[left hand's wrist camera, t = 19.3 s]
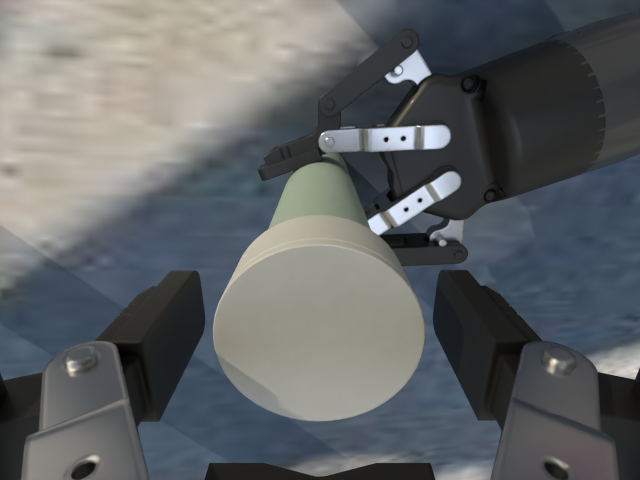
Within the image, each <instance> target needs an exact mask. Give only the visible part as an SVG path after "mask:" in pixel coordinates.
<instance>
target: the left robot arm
mask: <svg viewBox="0 0 640 480" xmlns="http://www.w3.org/2000/svg"><path fill="white" fill-rule="evenodd" d="M433 325H434V330H435V333H436V336H437V338H438V340H439V342H440V344H441V346H442V348H443V350H444V352H445V354H446V356H447V358H448V360H449V362H450V364H451V366H452V368H453V370H454V372H455V374H456V376H457V378H458V380H459V382H460V384H461V386H462V388H463V391H464V393H465V395H466V397H467V399H468V401H469V403H470V405H471V407H472V409H473V411H474V413H475V415H476V417H477V419H478V420H496V421H497V422H498V424H499V426H500V428H501V430H502V433H501V437H500V441H499V445H498V449H497V454H496V458H495V462H494V466H493V470H492V475H491V479H490V480H640V369H639V371H638V374H637V376H636V379H635V380H634V379H629V378H624V377H619V376H614V375H609V374H604V373H599V372H597V369H596V367H595V366H594V365H593V363H592V362H591V361H590V360H589V359H588V358H586V357H585V356H584V355H582V354H581V353H579V352H577V351H575V350H573V349H571V348H569V347H567V346H564V345H561V344H558V343H554V342H548V341H542V340H541V338H540V337H539V336H538V335H537V334H536V333H535V332H534V331H533V330H532V329H531V328H530V327H529V325H528V324H527V323H526V322H525V321H524V320H523V319H522V318H521V317H520V316H519V315H517V312H516V311H515V310H514V309H513V308H512V307H509V304H508V303H507V302H506V301H505V299H504V298H503V297H502V296H501V295H500V294H498V293H497V292H495V291H493V290H491V289H490V288H488V287H486V286H480V285H479V283H478V282H477V281H476V280H475V279H474V278H473V276H472V275H471V274H470V273H469V272H468V271H467V270H441V271H440V273H439V276H438V282H437V289H436V297H435V304H434V312H433ZM204 326H205V311H204V304H203V297H202V289H201V282H200V276H199V273H198V272H197V271H170V272H169V273H168V274H167V276H166V277H165V278H164V279H163V280H162V281H161V282H160V284H159V285H158V286H152V287H151V288H149V289H147V290H146V291H144V292H142V293H140V294H139V295H137V296H136V297H135V299H134V300H133V301H132V302H131V303H130V304H129V305H128V307H126V308H125V309H124V310H123V311H122V312H121V314H120V316H118V317H117V318H116V319H115V320H114V321H113V322H112V323H111V324H110V325H109V326H108V328H107V329H106V330H105V331H104V332H103V333H102V334H101V335H100V336H99V337H98V338H97V339H96V340H95V341H92V342H86V343H82V344H79V345H76V346H73V347H71V348H69V349H67V350H65V351H63V352H61V353H59V354H58V355H56V356H55V357H54V358H52V359H51V360H50V361H49V362H48V363H47V365H46V366H45V367H44V369H43V372H42V373H38V374H33V375H28V376H23V377H18V378H13V379H9V380H4V381H3V379H2V376H1V374H0V480H150V479H149V475H148V470H147V466H146V462H145V458H144V454H143V449H142V445H141V441H140V437H139V433H138V429H137V427H138V425H139V424H140V422H159V421H160V419H161V417H162V415H163V413H164V411H165V409H166V407H167V405H168V403H169V401H170V399H171V397H172V395H173V393H174V391H175V389H176V387H177V385H178V383H179V381H180V379H181V377H182V375H183V373H184V371H185V369H186V367H187V365H188V363H189V361H190V359H191V357H192V355H193V353H194V351H195V349H196V347H197V345H198V343H199V341H200V339H201V337H202V334H203V331H204ZM205 480H435V477H434V474H433V470H432V467H431V464H430V463H375V464H371V465H367V466H363V467H359V468H356V469H352V470H348V471H344V472H340V473H337V474H333V475H329V476H325V477H315V476H311V475H307V474H303V473H300V472H296V471H292V470H288V469H284V468H281V467H277V466H273V465H269V464H265V463H210V464H209V467H208V470H207V474H206V477H205Z"/></svg>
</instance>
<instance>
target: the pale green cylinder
mask: <svg viewBox="0 0 640 480" xmlns="http://www.w3.org/2000/svg"><path fill="white" fill-rule="evenodd" d="M309 215H328V216H336V217H341V218H345V219H349V220H351V221H354V222H357V223H359V224H361V225H363V226H365V227H367V228H369V229H370V230H371V228H370V226H369V223H368V220H367V218H366V215H365V213H364V210H363V208H362V205H361V202H360V200H359V197H358V195H357V192H356V189H355V187H354V184H353V182H352V179H351V177H350V174H349V171H348V169H347V166H346V164H345V162H344V160H343V158H342V157H341V156H340V154H339V153H327V154H324V155H322V160H320V161H317V162H315V163H312V164H309V165H306V166H304V167H301V168H298V169H296V170H293V171H291V174H290V176H289V179H288V181H287V184H286V186H285V189H284V191H283V194H282V196H281V199H280V201H279V204H278V206H277V209H276V211H275V214H274V216H273V219H272V221H271V224H270V226H269V229H270V228H272V227H274V226H275V225H277V224H280V223H282V222H284V221H287V220H290V219H294V218H297V217H303V216H309ZM269 229H268V230H269Z"/></svg>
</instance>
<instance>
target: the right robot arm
mask: <svg viewBox="0 0 640 480" xmlns="http://www.w3.org/2000/svg"><path fill="white" fill-rule="evenodd" d="M418 46H419V37H418V34H417V33H416V32H415V31H414V30H412V29H404V30H402V31H401V32H399V33H398V34H397V35H396V36H394V37H393V38H392V39H391V40H389V41H388V42H387V43H386V44H385V45H383V46H382V47H381V48H380V49H378V50H377V51H376V52H375V53H374V54H372V55H371V56H370V57H369V58H367V59H366V60H365V61H364V62H362V63H361V64H360V65H359V66H358V67H356V68H355V69H354V70H353V71H351V72H350V73H349V74H348V75H347V76H345V77H344V78H343V79H342V80H340V81H339V82H338V83H337V84H336V85H334V86H333V87H332V88H331V89H329V90H328V91H327V92H326V93H324V94H323V95H322V96H321V98H320V99H319V103H318V126H317V129H316V130H315V131H314V132H313V133H311V134H309V135H307V136H304V137H301V138H299V139H296V140H293V141H291V142H288V143H285V144H283V145H280V146H277V147H275V148H273V149H272V150H271V151H270V152H269V153H268V154H267V155H266V156H265V157H264V160H265V164H263V165H261V166H260V167H259V168H258V169H257V170H258V172H259V174H260V177H261V179H262V181H265V180H268V179H271V178H274V177H276V176H279V175H282V174H285V173H287V172H290V171H293V170H296V169H298V168H301V167H304V166H306V165H309V164H312V163H315V162H317V161H320V160H322V155H324V154H327V153H342V152H379V153H380V156H381V158H382V159H383V161H384V163H385V164H386V166H387V170H388V183H389V187H390V188H389V189H387V190H386V191H384V192H383V193H381V194H380V195H379V196H377V197H376V199H375V200H374V201H373V202H372V203H371V204H369V205H368V206H366V207H365V208H364V209H363V210H364V213H365V215H366V218H367V220H368V223H369V226H370V228H371V230H372V231H373V232H374V233H376V234H377V235H379V236H380V237H381V238H382V239H383V240H384V241H385V242H386V243H387V244H388V245H389V247H390V248H391V249H392V250H393V251H394V253H395V255H396V257H397V258H398V260H399V262H400V264H401V266H415V265H438V264H459V263H462V262H463V261H465V260H466V258H467V256H468V251H467V249H466V248H465V247H464V246H463V244H462V240H463V230H464V221H465V219H467V218H469V217H470V216H472V215H473V214H474V213H475V212H476V211H477V210H478V209H479V208H481V207H482V206H484V205H486V204H488V203H491V202H495V201H500V200H504V199H508V198H511V197H514V196H517V195H520V194H523V193H526V192H529V191H532V190H535V189H538V188H541V187H544V186H547V185H550V184H553V183H556V182H559V181H562V180H565V179H568V178H571V177H574V176H577V175H580V174H583V173H586V172H589V171H592V170H595V169H598V168H601V167H604V166H607V165H610V164H613V163H616V162H619V161H622V160H625V159H628V158H631V157H633V156H635V155H638V154H640V11H637V12H634V13H630V14H626V15H622V16H618V17H613V18H609V19H605V20H601V21H598V22H595V23H592V24H589V25H586V26H584V27H581V28H578V29H576V30H573V31H568V32H562V33H559V34H557V35H555V36H553V37H551V38H549V39H548V40H547V41H544V42H541V43H539V44H536V45H533V46H531V47H528V48H525V49H523V50H520V51H518V52H515V53H512V54H510V55H507V56H504V57H502V58H499V59H497V60H494V61H491V62H489V63H486V64H483V65H481V66H478V67H475V68H473V69H470V70H467V71H465V72H462V73H459V74H456V75H444V74H432V73H431V72H430V70H429V68H428V66H427V65H426V63H425V61H424V60H423V58H422V56H421V55H420V53H419V51H418V49H417V48H418ZM382 78H383V80H384V81H385V82H386V83H388V84H397V83H400V82H402V81H404V80H406V81H409V82H410V83H412V85H413V86H412V88H411V89H410V91H409V92H408V94H407V95H406V96H405V98H404V99H403V101H402V102H401V103H400V105H399V106H398V108H397V109H396V110H395V112H394V113H393V115H392V116H391V117H390V119H389V120H388V122H387V123H378V124H362V125H355V126H340V121H341V110H343V109H344V108H345V107H346V106H348V105H349V104H350V103H351V102H353V101H354V100H355V99H356V98H358V97H359V96H360V95H362V94H363V93H364V92H365V91H367V90H368V89H369V88H370V87H372V86H373V85H374V84H375V83H377V82H378V81H379V80H380V79H382ZM406 207H407V208H406ZM405 208H406V209H405ZM421 211H422V212H425V213H429V214H432V215H436V216H439V217H443V218H444V220H443V221H442V222H441V223H440V224H437V225H433V226H431V227H429V228H428V229H427V231H426V233H413V234H390V235H381V234H382V233H384V232H385V231H387V230H388V229H390V228H396V227H398V226H400V225H402V224H403V223H405V222H406V221H408V220H409V219H411V218H412V217H414V216H415V215H417V214H418V213H420V212H421Z"/></svg>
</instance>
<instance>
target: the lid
mask: <svg viewBox="0 0 640 480" xmlns="http://www.w3.org/2000/svg"><path fill="white" fill-rule="evenodd" d="M213 340H214V346H215V351H216V354H217V357H218V360H219V363H220V365H221V367H222V369H223V371H224V372H225V374H226V375H227V377H228V378H229V380H230V381H231V382H232V383H233V385H234V386H235V387H236V388H237V389H238V390H239V391H240V392H241V393H242V394H244V395H245V396H246V397H247V398H248V399H250V400H251V401H253V402H254V403H256V404H257V405H259V406H261V407H263V408H265V409H267V410H269V411H271V412H274V413H276V414H279V415H282V416H286V417H289V418H294V419H300V420H308V421H331V420H339V419H345V418H349V417H353V416H356V415H359V414H362V413H365V412H367V411H369V410H372V409H374V408H376V407H378V406H379V405H381V404H383V403H384V402H386V401H387V400H389V399H390V398H391V397H393V396H394V395H395V394H396V393H397V392H398V391H399V390H400V389H401V388H402V387H403V386H404V385H405V384H406V383H407V382H408V380H409V379H410V378H411V376H412V375H413V373H414V371H415V370H416V368H417V366H418V363H419V361H420V359H421V356H422V352H423V348H424V343H425V321H424V317H423V312H422V309H421V306H420V304H419V301H418V299H417V297H416V295H415V293H414V291H413V289H412V286H411V284H410V282H409V280H408V278H407V276H406V274H405V272H404V270H403V268H402V266H401V264H400V262H399V260H398V258H397V257H396V255H395V253H394V251H393V250H392V249H391V248H390V247H389V245H388V244H387V243H386V242H385V241H384V240H383V239H382V238H381V237H380V236H379V235H377V234H376V233H374V232H373V231H372V230H370V229H369V228H367V227H365V226H363V225H361V224H359V223H357V222H354V221H351V220H349V219H345V218H341V217H336V216H328V215H309V216H303V217H297V218H294V219H290V220H287V221H284V222H282V223H280V224H277V225H275V226H274V227H272V228H270V229H269V230H267V231H265V232H264V233H263V234H261V235H260V236H259V237H258V238H257V239H256V240H255V241H254V242H253V243H252V244H251V245H250V246H249V247H248V248H247V250H246V251H245V253H244V254H243V256H242V258H241V260H240V262H239V264H238V266H237V268H236V270H235V272H234V274H233V276H232V278H231V280H230V282H229V284H228V286H227V288H226V290H225V292H224V294H223V296H222V298H221V300H220V302H219V304H218V307H217V310H216V313H215V318H214V324H213Z"/></svg>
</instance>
